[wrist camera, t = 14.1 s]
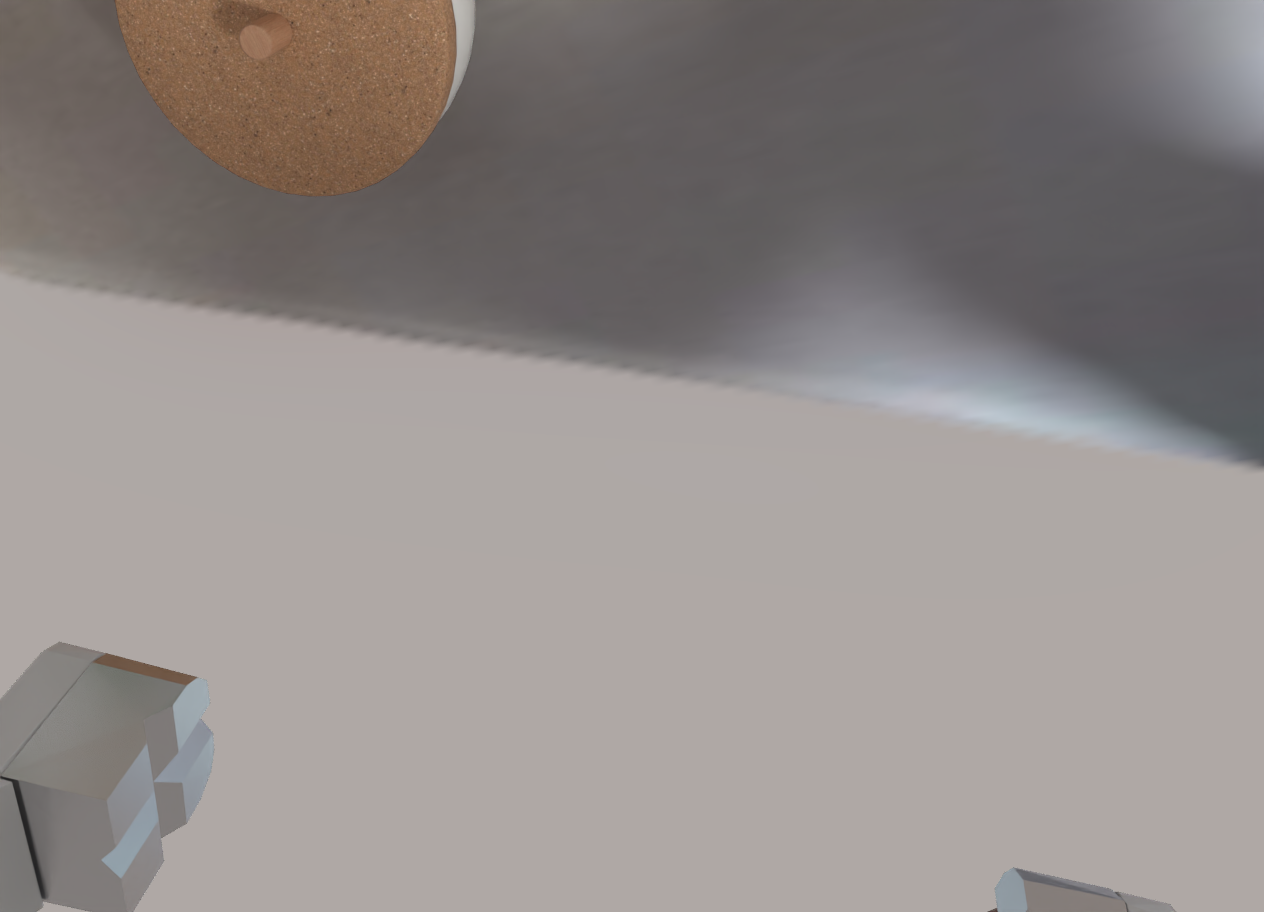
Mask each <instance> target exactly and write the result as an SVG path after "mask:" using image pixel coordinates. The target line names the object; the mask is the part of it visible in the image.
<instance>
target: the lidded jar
mask: <svg viewBox="0 0 1264 912" xmlns="http://www.w3.org/2000/svg"><path fill="white" fill-rule="evenodd" d="M115 4H116V9H117V15H118V20H119V25H120V28H121V31H122V34H123V37H124V40H125V43H126V46H127V50H128V52H129V55H130V57H131V59H132V61H133V63H134V66H135V68H136V70H137V72H138V74H139V77H140V79H141V80H142V82H143V83H144V85H145V87H146V88H147V90H148V91H149V93H150V94H151V96H152V98H153V99H154V101H155V102H156V104H157V105H158V106H159V108H160V109H161V110H162V112H163V113H164V114H165V115H166V117H167V118H168V119H169V120H170V122H171V123H172V124H173V126H174V127H175V128H177V129H178V130H179V131H180V132H181V133H182V134H183V135H184V136H185V137H186V138H187V139H188V140H189V141H190V142H191V143H192V144H193V145H194V146H195V147H196V148H198V149H199V150H200V151H201V152H203V153H204V154H205V155H207V156H208V157H209V158H210V159H212V160H213V161H214V162H216V163H217V164H219V165H221V166H222V167H224V168H226V169H227V170H229V171H231V172H232V173H234V174H236V175H237V176H239V177H242V178H244V179H246V180H248V181H251V182H253V183H255V184H258V185H260V186H262V187H266V188H269V189H273V190H277V191H280V192H284V193H288V194H296V195H304V196H335V195H339V194H344V193H349V192H354V191H358V190H361V189H363V188H366V187H368V186H371V185H373V184H376V183H378V182H380V181H381V180H383V179H384V178H386V177H388V176H389V175H391V174H392V173H394V172H395V171H397V170H398V169H399V168H400V167H401V166H403V165H404V164H405V163H406V162H407V161H408V160H409V159H410V158H411V157H412V156H413V155H414V154H415V153H416V152H417V151H418V150H419V149H420V148H421V147H422V145H423V144H424V143H425V141H426V140H427V139H428V137H429V136H430V134H431V133H432V132H433V130H434V129H435V127H436V125H437V123H438V122H439V121H440V119H441V118H442V117H443V115H444V114H445V113H446V111H447V110H448V109H449V107H450V105H451V103H452V101H453V99H454V97H455V95H456V93H457V91H458V89H459V87H460V85H461V83H462V81H463V79H464V76H465V73H466V69H467V66H468V63H469V60H470V56H471V51H472V44H473V37H474V30H475V0H115Z"/></svg>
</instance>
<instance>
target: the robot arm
mask: <svg viewBox="0 0 1264 912" xmlns="http://www.w3.org/2000/svg"><path fill="white" fill-rule="evenodd" d="M209 704H210V698H209V691H208V684H207V680H204V679H201V678H198V677H194V676H191V675H187V674H183V673H179V672H175V671H171V670H168V669H164V668H160V667H156V666H152V665H149V664H145V663H141V662H138V661H133V660H130V659H126V658H122V657H119V656H115V655H111V654H107V653H103V652H99V651H95V650H90V649H86V648H82V647H78V646H74V645H70V644H66V643H62V642H58V643H57V644H55V645H53V646H51V647H49V648H48V649H46V650H44V651H43V652H41V653H40V655H39V656H38V657H37V658H36V659H35V660H34V662H33V663H32V664H31V665H30V666H29V667H28V668H27V669H26V671H25V672H24V673H23V674H22V675H21V676H20V678H19V679H18V680H17V681H16V682H15V683H14V684H13V685H12V687H11V688H10V689H9V690H8V691H7V692H6V693H5V694H4V696H3V697H2V698H1V699H0V912H37V911H38V910H40V909H41V908H42V907H43V901H44V902H49V903H53V904H58V905H62V906H67V907H71V908H76V909H81V910H85V911H90V912H133V911H134V910H135V908H136V906H137V905H138V903H139V901H140V900H141V898H142V896H143V895H144V893H145V892H146V890H147V888H148V887H149V885H150V883H151V882H152V880H153V879H154V877H155V875H156V874H157V872H158V870H159V869H160V867H161V865H162V864H163V862H164V858H163V850H162V842H161V838H162V837H164V836H166V835H168V834H169V833H171V832H173V831H175V830H176V829H178V828H180V827H181V826H183V825H185V824H187V822H188V820H189V819H190V817H191V815H192V813H193V812H194V810H195V808H196V806H197V805H198V803H199V801H200V800H201V797H202V794H203V791H204V789H205V786H206V784H207V781H208V778H209V775H210V773H211V769H212V762H213V755H214V740H213V733H212V731H211V730H210V729H209V728H208V727H207V725H206V724H205V723H204V722H203V721H202V719H201V717H202V715H203V713H204V711H205V710H206V709H207V707H208V706H209ZM995 893H996V902H997V908H996V909H993V910H991V911H988V912H1176V911H1175V910H1174V909H1173V907H1172V906H1171V905H1170V904H1167V903H1163V902H1159V901H1155V900H1150V899H1146V898H1142V897H1137V896H1134V895H1129V894H1125V893H1121V892H1113V890H1111V889H1109V888H1104V887H1100V886H1095V885H1090V884H1086V883H1081V882H1077V881H1072V880H1068V879H1063V878H1059V877H1054V876H1050V875H1045V874H1040V873H1036V872H1032V871H1027V870H1023V869H1018V868H1012V869H1010V870H1009V871H1007V872H1005V873H1004V874H1003V876H1002V877H1001V879H1000V881H999V883H998V884H997V886H996V887H995Z"/></svg>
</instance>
